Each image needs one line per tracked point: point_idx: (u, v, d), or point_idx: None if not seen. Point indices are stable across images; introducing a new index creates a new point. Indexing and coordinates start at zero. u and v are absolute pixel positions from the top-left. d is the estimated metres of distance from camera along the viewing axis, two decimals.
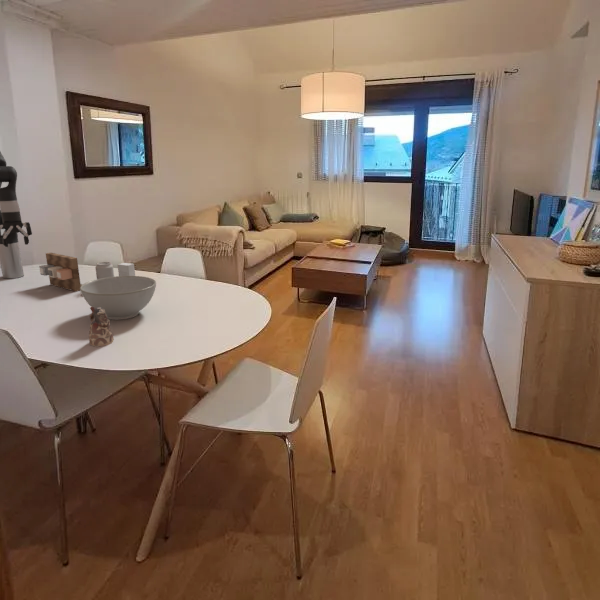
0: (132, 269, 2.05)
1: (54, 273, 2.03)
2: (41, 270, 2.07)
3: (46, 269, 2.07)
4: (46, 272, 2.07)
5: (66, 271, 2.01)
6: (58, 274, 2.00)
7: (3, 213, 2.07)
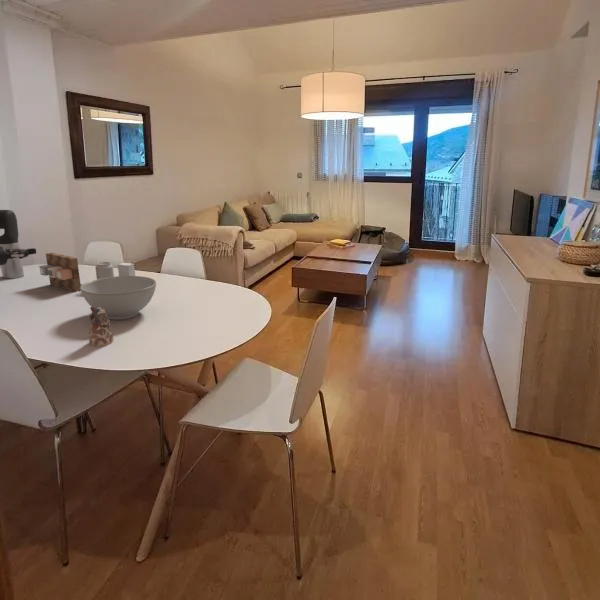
0: (132, 269, 2.05)
1: (54, 273, 2.03)
2: (41, 270, 2.07)
3: (46, 269, 2.07)
4: (46, 272, 2.07)
5: (66, 271, 2.01)
6: (58, 274, 2.00)
7: None
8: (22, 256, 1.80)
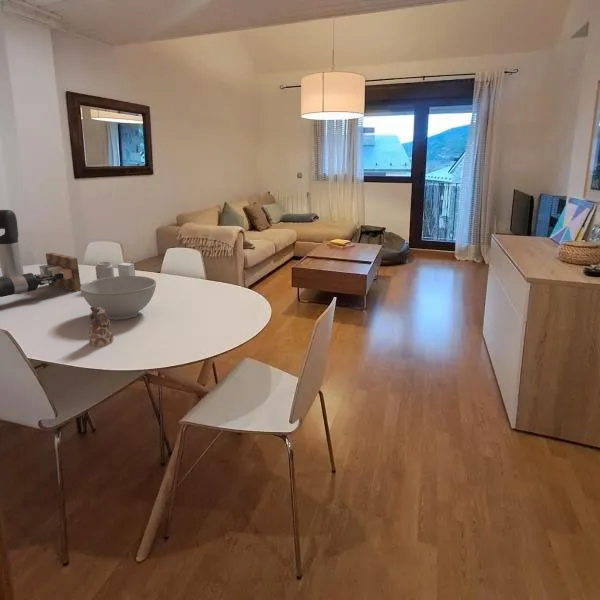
0: (132, 269, 2.05)
1: (54, 273, 2.03)
2: (41, 270, 2.07)
3: (46, 269, 2.07)
4: (46, 272, 2.07)
5: (69, 270, 2.02)
6: None
7: (27, 281, 1.85)
8: (51, 282, 1.91)
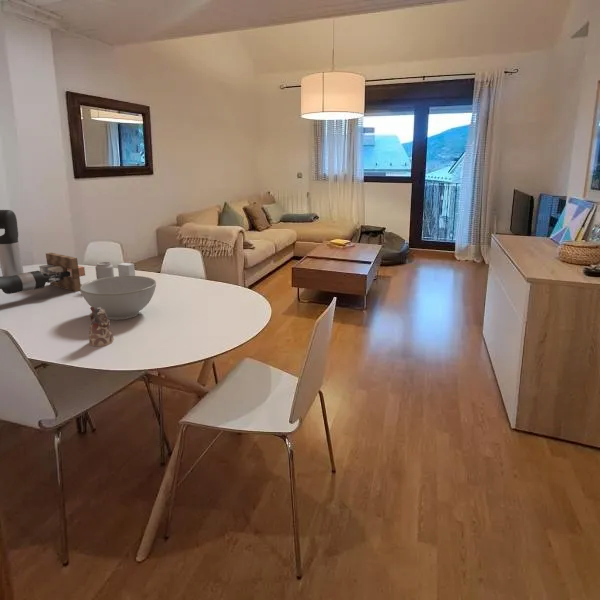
0: (132, 269, 2.05)
1: None
2: (41, 270, 2.07)
3: (46, 269, 2.07)
4: None
5: None
6: None
7: (35, 278, 1.88)
8: (58, 280, 1.94)
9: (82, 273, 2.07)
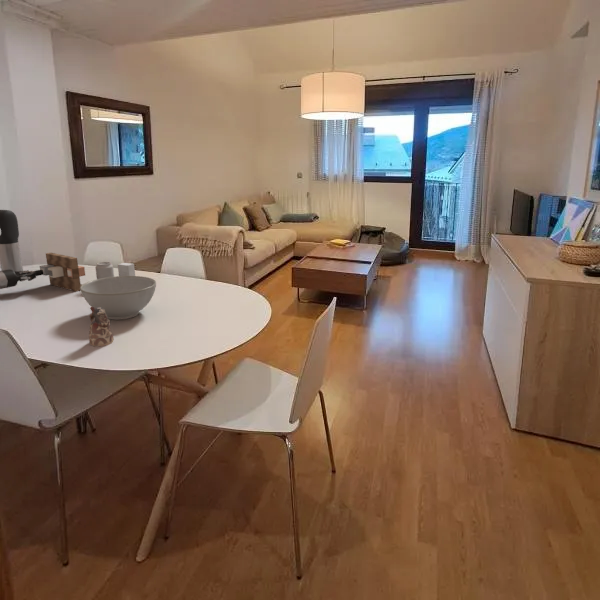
0: (132, 269, 2.05)
1: (54, 273, 2.03)
2: None
3: (46, 269, 2.07)
4: (46, 272, 2.07)
5: None
6: (68, 272, 2.04)
7: (7, 277, 1.92)
8: (31, 278, 1.98)
9: (82, 273, 2.07)
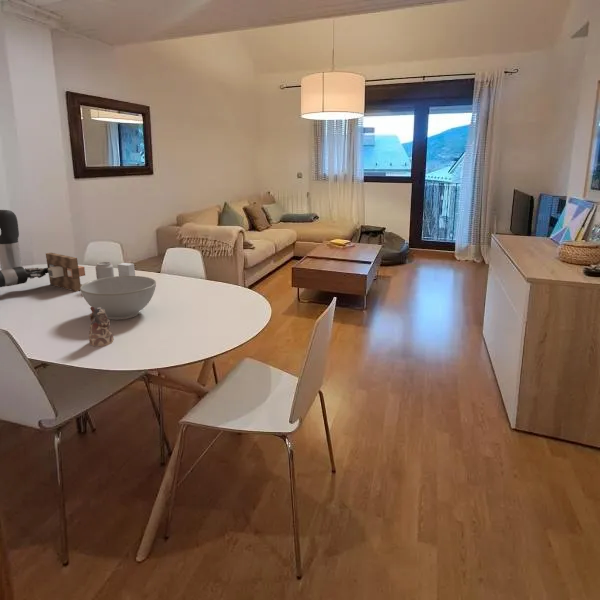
0: (132, 269, 2.05)
1: (54, 273, 2.03)
2: None
3: None
4: None
5: None
6: (68, 272, 2.04)
7: (17, 273, 1.95)
8: (40, 275, 2.01)
9: (82, 273, 2.07)
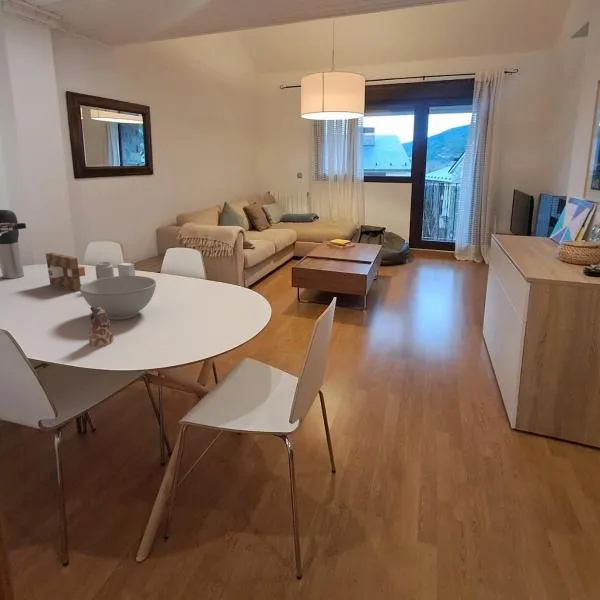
0: (132, 269, 2.05)
1: (54, 273, 2.03)
2: None
3: None
4: None
5: None
6: (68, 272, 2.04)
7: None
8: (11, 230, 1.82)
9: (82, 273, 2.07)
